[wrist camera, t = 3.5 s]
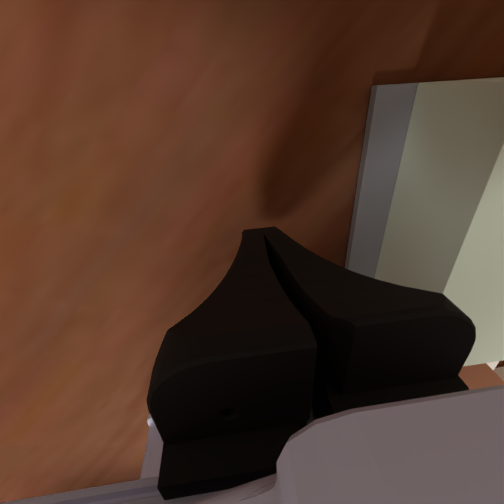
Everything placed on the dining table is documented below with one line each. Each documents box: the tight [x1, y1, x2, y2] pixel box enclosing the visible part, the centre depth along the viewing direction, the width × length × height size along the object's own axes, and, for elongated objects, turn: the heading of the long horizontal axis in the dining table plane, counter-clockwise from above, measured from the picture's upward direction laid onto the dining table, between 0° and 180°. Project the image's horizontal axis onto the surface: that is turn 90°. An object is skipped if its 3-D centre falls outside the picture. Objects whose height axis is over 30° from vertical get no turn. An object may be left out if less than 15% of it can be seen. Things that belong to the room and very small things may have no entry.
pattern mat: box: [344, 77, 501, 278], centre depth 13 cm, size 12×11×1 cm
